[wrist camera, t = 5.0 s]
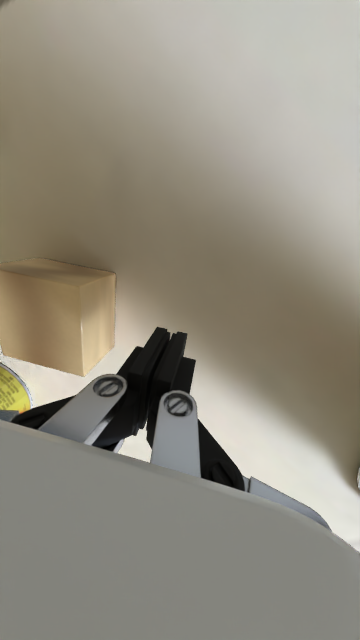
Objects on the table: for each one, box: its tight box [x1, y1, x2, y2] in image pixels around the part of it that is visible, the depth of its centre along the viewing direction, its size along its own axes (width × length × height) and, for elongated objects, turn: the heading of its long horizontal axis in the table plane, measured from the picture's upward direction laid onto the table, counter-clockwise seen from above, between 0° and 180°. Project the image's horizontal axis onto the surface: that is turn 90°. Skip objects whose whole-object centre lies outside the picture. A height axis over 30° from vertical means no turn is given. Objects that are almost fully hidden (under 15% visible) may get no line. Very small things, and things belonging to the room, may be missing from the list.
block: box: [0, 258, 116, 377], centre depth 14 cm, size 6×6×4 cm
